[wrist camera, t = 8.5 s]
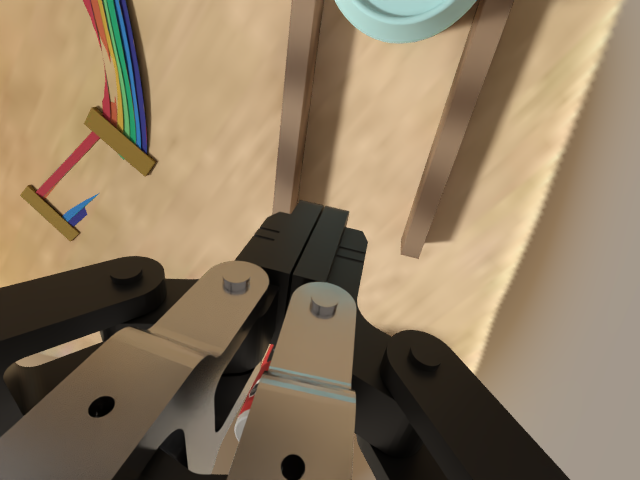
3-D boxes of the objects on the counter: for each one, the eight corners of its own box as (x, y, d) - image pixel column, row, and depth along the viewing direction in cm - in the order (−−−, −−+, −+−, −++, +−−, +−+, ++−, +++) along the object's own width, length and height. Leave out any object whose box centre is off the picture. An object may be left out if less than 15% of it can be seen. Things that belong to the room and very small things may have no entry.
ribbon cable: (-86, -381, 19) (-169, 12, 33) (-110, -402, 19) (-185, 11, 32) (252, 77, 28) (78, 241, 41) (247, 78, 27) (70, 246, 40)
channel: (323, -207, 19) (305, -260, 16) (570, -180, 18) (608, -232, 14) (280, 210, 33) (265, 230, 29) (417, 243, 31) (418, 268, 28)
